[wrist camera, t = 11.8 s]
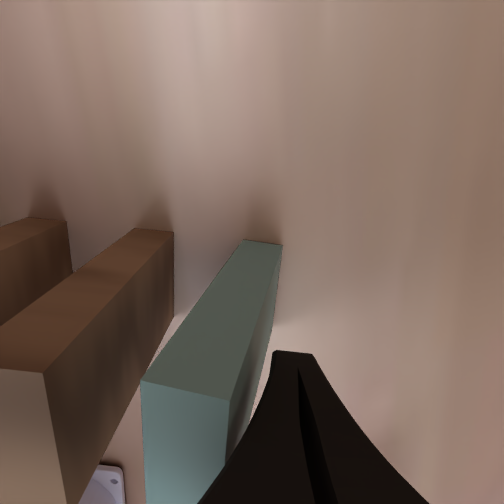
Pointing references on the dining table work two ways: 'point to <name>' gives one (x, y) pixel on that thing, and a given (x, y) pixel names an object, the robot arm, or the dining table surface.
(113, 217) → the dining table surface
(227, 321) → the domino
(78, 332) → the domino
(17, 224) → the domino
